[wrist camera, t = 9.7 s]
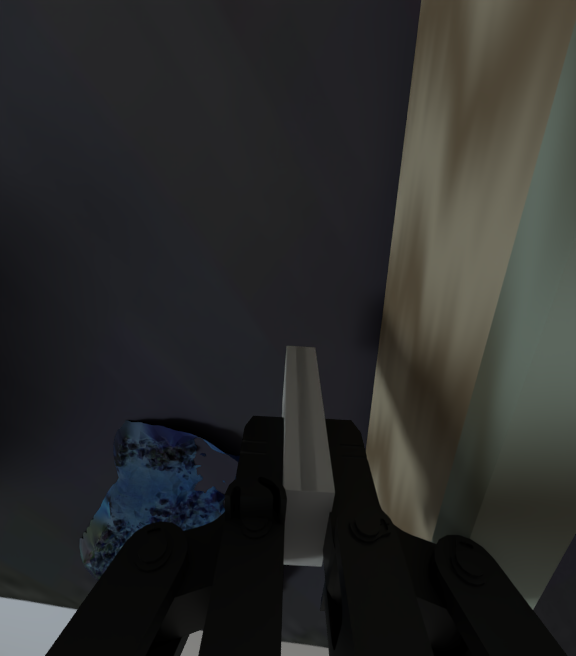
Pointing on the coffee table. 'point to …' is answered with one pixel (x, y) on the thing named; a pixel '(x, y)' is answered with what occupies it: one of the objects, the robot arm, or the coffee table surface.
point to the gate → (484, 290)
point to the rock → (148, 491)
